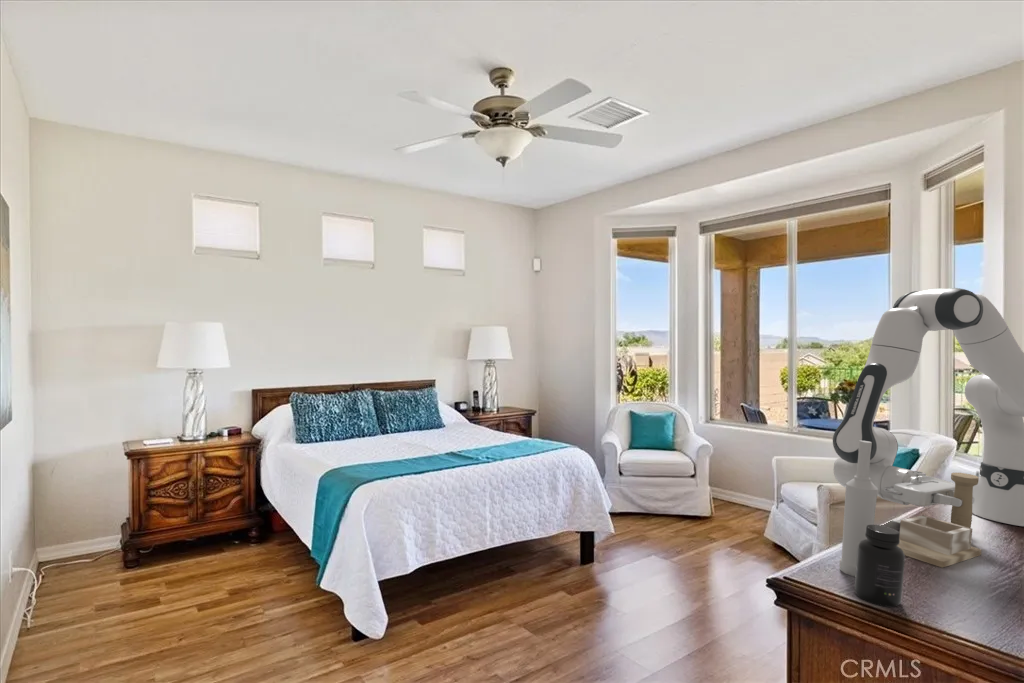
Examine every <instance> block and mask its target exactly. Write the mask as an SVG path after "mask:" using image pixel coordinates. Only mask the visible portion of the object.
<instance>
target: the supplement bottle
mask: <svg viewBox="0 0 1024 683" xmlns="http://www.w3.org/2000/svg"><path fill="white" fill-rule="evenodd" d="M865 537H866V538H867V539H865V540H862V541H861V542H860V543H859V544H858V551H857V563H856V575H855V576H854V578H855V579H854V592H855V594H856V596H857V597H858V598H860V599H862V600H863V601H865V602H868V603H870V604H874V605H876V606H881V607H886V608H892V607H894V608H895V607H898V606H900V605H901V603H902V598H903V596H902V595H903V584H904V574H905V562H906V561H905V560H906V555H905V554H904V552H903V551H902V549H901V548H899V547H898V546H897V545H898V544H899V543H900V540H899V537H900V531H898V530H897V529H895V528H892V527H889V526H886V525H880V524H874V525H867V527H866V533H865Z"/></svg>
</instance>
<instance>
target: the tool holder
mask: <svg viewBox="0 0 1024 683" xmlns="http://www.w3.org/2000/svg"><path fill="white" fill-rule="evenodd" d="M899 533H900V537H899V540H900V543H899V544H898V545H897V546H898V547H899V548H901V549H902V551H903V552H904V554H905V557H910V558H911V559H914V560H915V559H916V560H919V561H921V562H924V563H927V564H929V565H932V566H936V567H938V568H941V569H942V568H945V567H949V566H952V565H956V564H958V563H961V562H964V561H967V560H971V559H972V558H977V557H980V556H982V550H983V549H981V548H977V547H975V546H972V536H973V528H972V527H970V528H968V527H964V526H960V525H957V524H953V523H951V521H950V522H949V521H945V520H941V519H939V518H934V517H931V516H927V515H918V516H913V517H910V518H904V519H901V520H900V524H899Z"/></svg>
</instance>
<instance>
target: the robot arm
mask: <svg viewBox="0 0 1024 683" xmlns="http://www.w3.org/2000/svg"><path fill="white" fill-rule="evenodd" d="M947 330H950V331H951V330H952V332H953V334H954V337H955V338H956V340H957V342H958V344H959V346H960V348H961V349H962V351H963V354H964V355H965V358H966V359H967V361H968V362H969V364H970V365H971V366H972V368H974V369H975V370H976V371H978V372H980V373H981V374H976V375H974V376H972V377H970V378H969V379H968V381H967V382H966V384H965V387H964V396H965V399H966V400H967V402H968V403H969V404H970V405H971V406H972V407H973V408H974V409H975V411H976V413H977V414H978V417H979V419H980V423H981V424H982V430H983V439H984V440H983V458H982V461H980V466H979V475H980V476H979V481H978V484H977V485H974V486H973V497H972V515H975V516H978V517H980V518H984V519H987V520H990V521H994V522H997V523H1003V524H1008V525H1012V526H1019V527H1024V351H1023V350H1022V349H1021V347H1020V345H1019V344H1018V342H1017V340H1016V339H1015V337H1014V334H1013V333H1012V332H1011V329H1010V328H1009V326H1008V323H1007V322H1006V321H1005V319H1004V317H1003V316H1002V314H1001V313H1000V311H998V309H997V307H995V305H994V304H993V303H992V302H991V301H990V300H989V299H988V298H987V297H986V296H984V295H981V294H976V293H975V292H973V291H971V290H969V289H966V288H958V287H953V288H940V287H939V288H930V289H926V290H920V291H919V290H918V291H917V290H915V291H910V292H907V293H905V294H903V295H901V296H900V297H899V298H898V299H897V300H896V301H895V302H894V304H893V306H892V308H890V309H888V310H886V311H885V312H884V313H883V314H882V315H881V317H880V319H879V322H878V324H877V326H876V329H875V332H874V335H873V338H872V341H871V346H870V349H869V353H868V356H867V359H866V362H865V365H864V367H863V369H862V370H861V371H860V372H861V373H860V374H859V376H858V378H857V380H856V384H855V386H854V390H853V392H852V396H851V398H850V401H849V405H848V407H847V410H846V413H845V416H844V418H843V420H842V421H841V423H840V424H839V425H838V426H837V428H836V430H835V431H834V433H833V435H832V445H833V449H834V451H835V453H836V454H837V455H838V458H836V459H835V462H834V464H833V474H834V475H833V476H834V478H835V480H836V481H837V483H839V485H841V486H842V487H844V488H846V483H847V482H849V481H851V480H852V479H854V476H856V475H857V464H858V453H859V451H858V449H859V441H860V440H861V441H869V442H872V446H871V454H870V466H869V478H870V479H871V482H872V483H873V484H874V485H875V486H876V487H877V488H878V491H877V497H879V498H881V499H882V500H885V501H888V502H889V501H890V502H893V503H895V504H901V505H905V506H909V505H912V506H917V507H923V508H926V507H930V506H935V505H946V506H947V505H948V506H951V507H952V506H956V507H960V506H962V505H963V500H962V499H961V498H957V497H954V491H955V482H953V481H948V480H945V479H942V478H938V477H934V476H932V475H931V476H930V475H927V474H926V472H923V471H917V470H911V469H907V468H902V467H898V466H894V463H895V461H896V458H897V454H898V450H899V443H898V440H897V438H896V436H895V435H894V434H893V433H892V432H891V431H889V430H888V429H886V428H883V427H877V426H874V421H875V419H876V416H877V413H878V409H879V407H880V404H881V401H882V398H883V397H884V394H885V393H886V392H887V391H888V390H889V389H891V388H892V387H894V386H896V385H898V384H903V382H905V381H906V382H907V380H909V379H910V378H912V377H913V375H914V373H915V371H916V369H917V366H918V364H919V361H920V356H921V352H922V347H923V339H924V337H925V336H926V334H927V333H928V332H929V331H931V332H936V331H947Z"/></svg>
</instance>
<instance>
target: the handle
mask: <svg viewBox="0 0 1024 683" xmlns="http://www.w3.org/2000/svg"><path fill="white" fill-rule="evenodd" d="M979 478H980V476H977V475H975V474H971V473H970V474H969V473H964V472H952V473H950V479H951V482H953V483H955V491H954V497H957V498H961V499H962V500H963V505H962V506H960V507H956V506H952V505H951V510H950V523H953V524H957V525H960V526H964V527H968V528H972V522H973V513H972V497H973V486H974V485H977V484H978V481H979Z"/></svg>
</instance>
